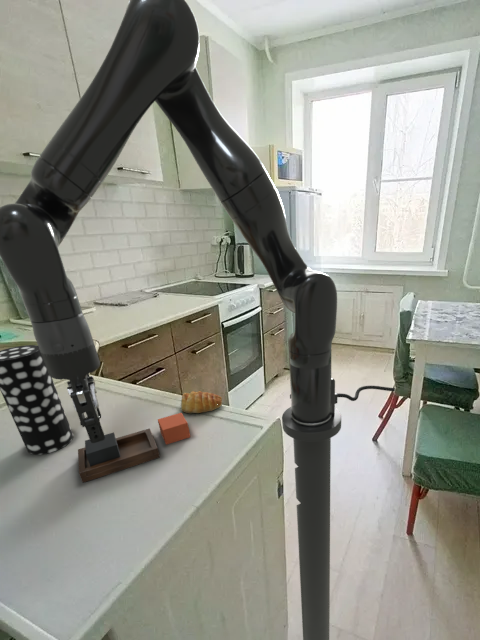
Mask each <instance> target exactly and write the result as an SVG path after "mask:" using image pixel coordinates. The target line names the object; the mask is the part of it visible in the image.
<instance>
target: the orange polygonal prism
mask: <svg viewBox="0 0 480 640" xmlns="http://www.w3.org/2000/svg"><path fill="white" fill-rule="evenodd" d="M157 423H158V427H159V431H160V435H161V437H162V439H163V441H164V444H165V445H170V444H173V443H176V442H179V441H183V440H185V439H189V438H191V433H190V428H189V423H188V421H187V419H186V418H185V416H184V414H183V413H182V412H179V413H178V412H177V413H175V414H171V415H167V416H164V417H161V418H158V419H157Z"/></svg>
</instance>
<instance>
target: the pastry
mask: <svg viewBox="0 0 480 640" xmlns="http://www.w3.org/2000/svg"><path fill="white" fill-rule="evenodd" d="M180 401H181V402H180V410H181V412H184V413H186V414H192V413H193V414H199V413H200V414H201V413H207V412H212V411H214V410H216V409H219V408H221V406H222V405H223V397H222V396H220V395H218V394H215V393H212V392H208V391H205V392H203V391H201V390H199V391H194V390H192V391H191V392H190V393H189V392H183V394H182V395H181V400H180ZM217 404H218V405H217Z"/></svg>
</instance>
